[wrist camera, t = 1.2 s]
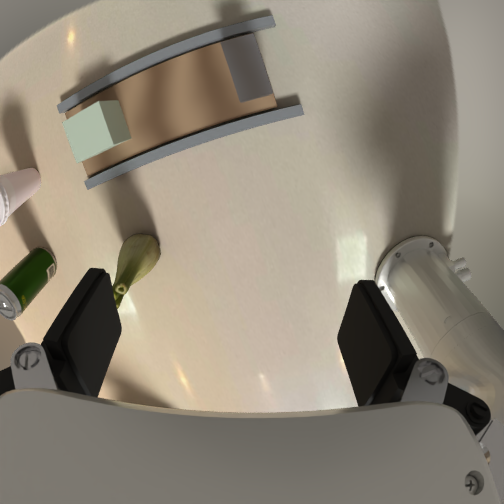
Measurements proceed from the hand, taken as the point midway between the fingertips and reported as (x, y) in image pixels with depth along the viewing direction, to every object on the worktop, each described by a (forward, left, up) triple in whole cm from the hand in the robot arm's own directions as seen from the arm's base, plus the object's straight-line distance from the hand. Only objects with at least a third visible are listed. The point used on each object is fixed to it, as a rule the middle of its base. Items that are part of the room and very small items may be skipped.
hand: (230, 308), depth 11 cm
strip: (+7, -10, -25) cm, 28 cm away
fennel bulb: (+16, +6, -25) cm, 30 cm away
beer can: (+34, +3, -25) cm, 42 cm away
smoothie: (+29, -9, -25) cm, 39 cm away
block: (+14, -10, -24) cm, 30 cm away
